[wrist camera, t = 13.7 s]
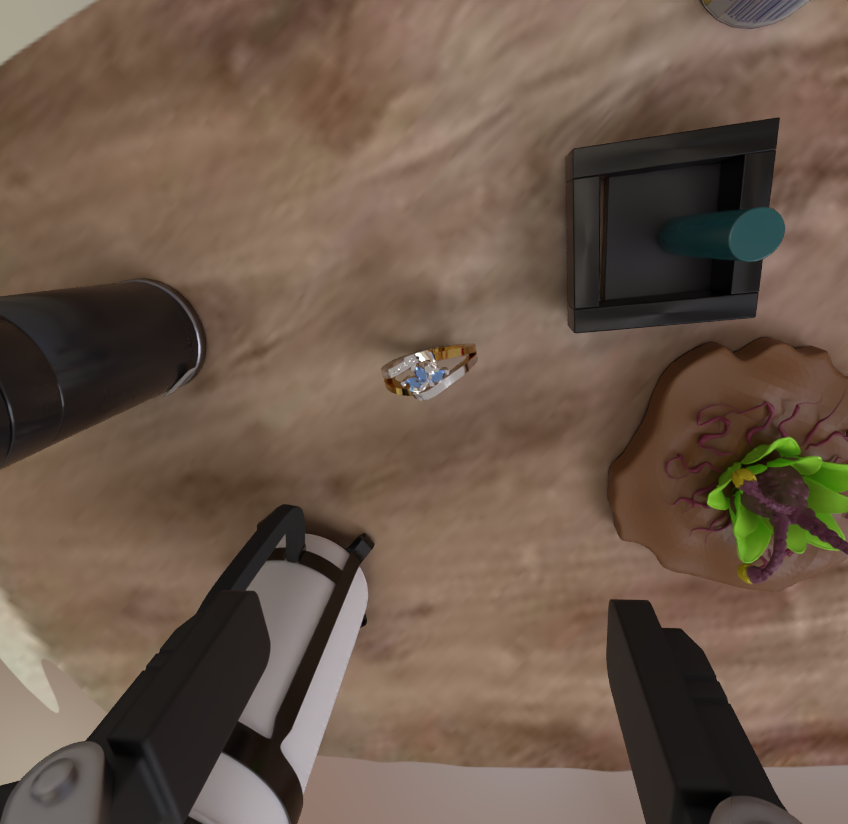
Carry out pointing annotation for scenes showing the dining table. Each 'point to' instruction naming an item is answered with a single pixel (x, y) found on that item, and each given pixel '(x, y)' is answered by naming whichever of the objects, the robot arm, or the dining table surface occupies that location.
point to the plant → (740, 467)
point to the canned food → (752, 11)
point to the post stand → (676, 232)
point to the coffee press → (286, 667)
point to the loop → (739, 189)
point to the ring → (428, 370)
